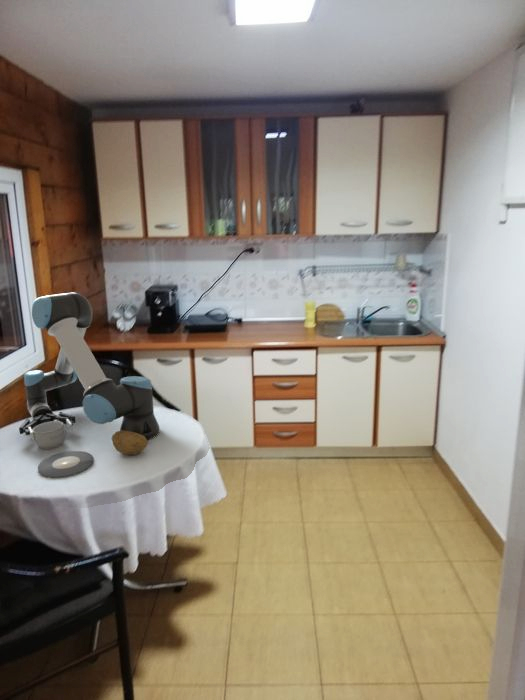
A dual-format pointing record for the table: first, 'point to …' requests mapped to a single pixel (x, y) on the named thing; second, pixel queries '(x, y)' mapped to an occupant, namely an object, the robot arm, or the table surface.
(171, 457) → the table surface
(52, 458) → the saucer
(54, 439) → the teacup
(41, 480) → the table surface
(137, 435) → the potato
